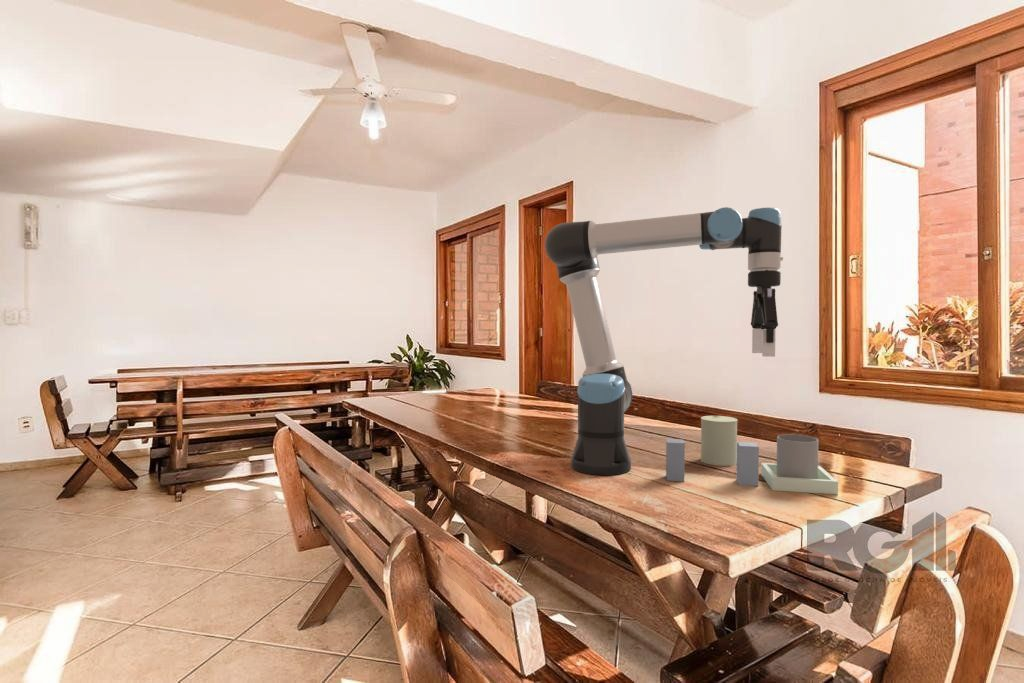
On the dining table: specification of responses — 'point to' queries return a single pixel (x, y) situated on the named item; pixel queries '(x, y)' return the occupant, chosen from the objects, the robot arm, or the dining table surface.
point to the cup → (797, 456)
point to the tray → (799, 481)
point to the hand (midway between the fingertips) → (762, 354)
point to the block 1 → (675, 459)
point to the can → (719, 440)
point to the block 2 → (747, 463)
